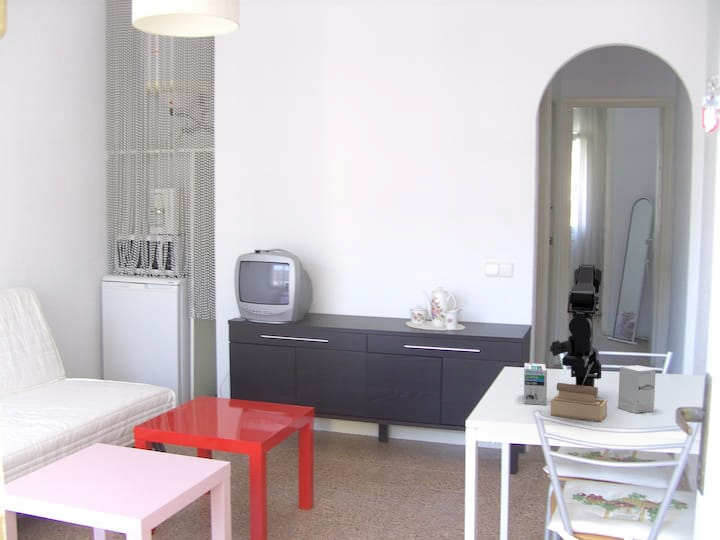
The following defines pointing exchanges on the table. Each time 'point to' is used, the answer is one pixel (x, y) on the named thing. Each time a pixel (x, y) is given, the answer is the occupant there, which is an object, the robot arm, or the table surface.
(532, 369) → the light bulb box
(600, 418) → the carton
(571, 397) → the flap
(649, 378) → the supplement box
